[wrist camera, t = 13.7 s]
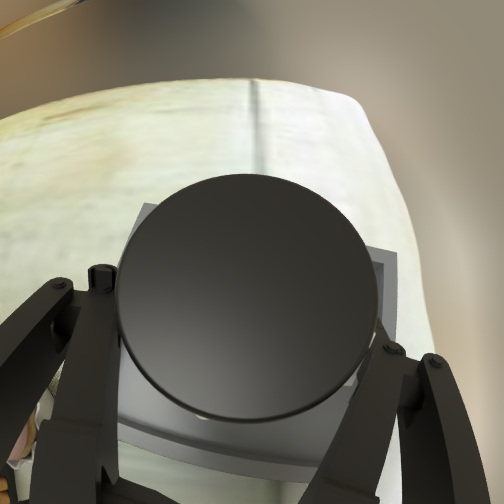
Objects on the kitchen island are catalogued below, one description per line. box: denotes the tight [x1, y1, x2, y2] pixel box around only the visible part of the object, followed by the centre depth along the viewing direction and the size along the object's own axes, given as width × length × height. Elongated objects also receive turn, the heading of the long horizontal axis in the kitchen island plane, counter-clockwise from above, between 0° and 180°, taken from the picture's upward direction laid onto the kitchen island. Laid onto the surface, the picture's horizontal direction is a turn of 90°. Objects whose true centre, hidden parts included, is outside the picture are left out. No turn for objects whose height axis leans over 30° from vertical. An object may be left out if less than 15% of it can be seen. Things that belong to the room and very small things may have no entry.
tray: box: [117, 203, 397, 483], centre depth 19 cm, size 20×17×3 cm
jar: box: [114, 174, 379, 425], centre depth 14 cm, size 9×8×12 cm
